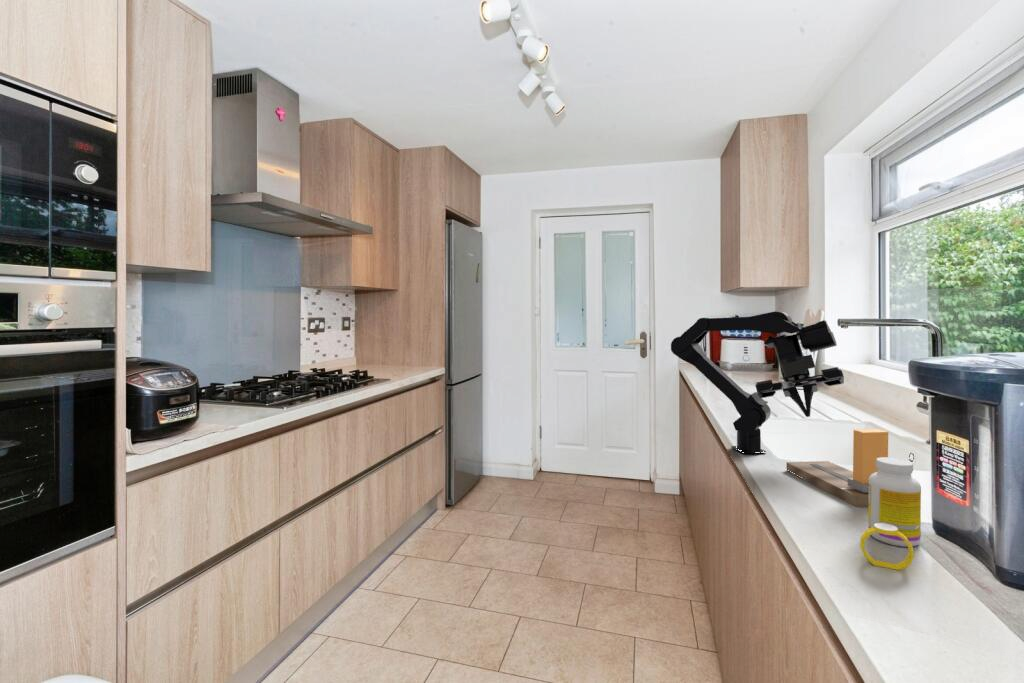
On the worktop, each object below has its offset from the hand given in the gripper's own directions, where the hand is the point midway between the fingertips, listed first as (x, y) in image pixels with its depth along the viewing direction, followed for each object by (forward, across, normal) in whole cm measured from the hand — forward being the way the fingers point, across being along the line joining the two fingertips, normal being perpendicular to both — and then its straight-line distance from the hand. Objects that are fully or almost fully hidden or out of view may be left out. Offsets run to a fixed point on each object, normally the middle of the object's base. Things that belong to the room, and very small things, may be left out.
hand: (808, 416), depth 114 cm
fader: (+19, +6, -12) cm, 24 cm away
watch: (+33, +4, -38) cm, 51 cm away
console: (+17, +2, -6) cm, 18 cm away
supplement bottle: (+29, +6, -28) cm, 41 cm away
